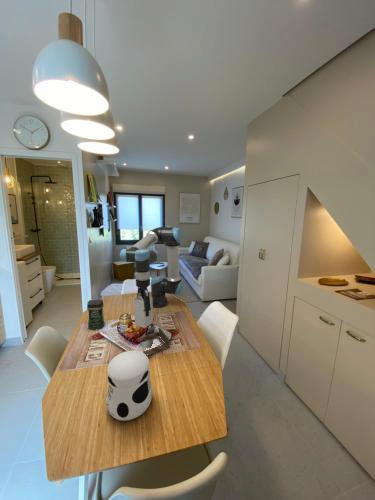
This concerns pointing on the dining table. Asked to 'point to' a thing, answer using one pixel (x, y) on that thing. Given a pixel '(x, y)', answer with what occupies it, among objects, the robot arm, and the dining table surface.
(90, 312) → the coffee jar
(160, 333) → the bay
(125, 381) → the milk container
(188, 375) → the dining table surface
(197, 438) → the dining table surface
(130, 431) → the dining table surface
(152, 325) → the winch drum
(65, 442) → the dining table surface
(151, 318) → the milk carton
